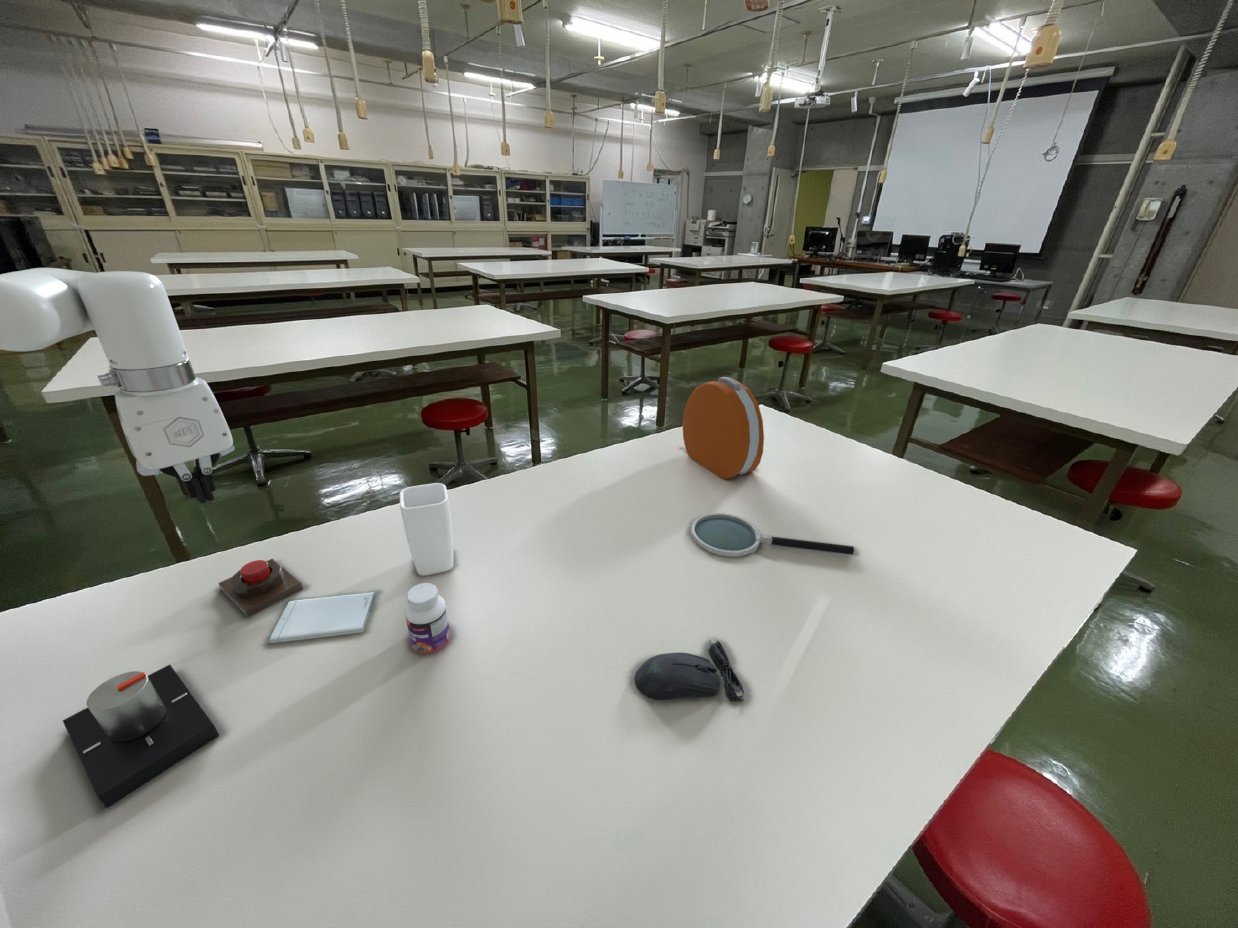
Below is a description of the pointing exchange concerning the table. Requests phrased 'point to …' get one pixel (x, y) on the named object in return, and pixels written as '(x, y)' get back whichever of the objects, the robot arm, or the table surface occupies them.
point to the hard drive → (323, 617)
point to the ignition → (260, 589)
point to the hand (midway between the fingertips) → (204, 498)
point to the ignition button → (255, 571)
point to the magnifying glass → (745, 537)
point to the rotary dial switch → (141, 741)
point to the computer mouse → (687, 675)
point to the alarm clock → (724, 428)
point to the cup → (428, 527)
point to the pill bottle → (426, 618)
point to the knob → (126, 706)
